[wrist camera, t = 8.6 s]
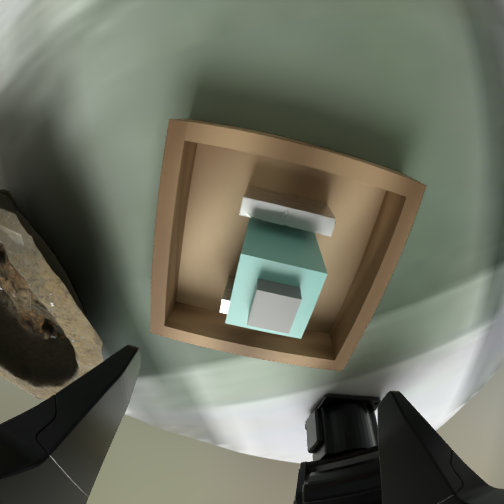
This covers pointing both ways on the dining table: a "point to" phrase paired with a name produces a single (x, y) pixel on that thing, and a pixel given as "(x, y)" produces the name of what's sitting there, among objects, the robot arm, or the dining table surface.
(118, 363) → the robot arm
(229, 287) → the socket
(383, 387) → the dining table surface
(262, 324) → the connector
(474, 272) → the dining table surface
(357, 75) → the dining table surface
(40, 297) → the stone bowl
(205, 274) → the walled box
